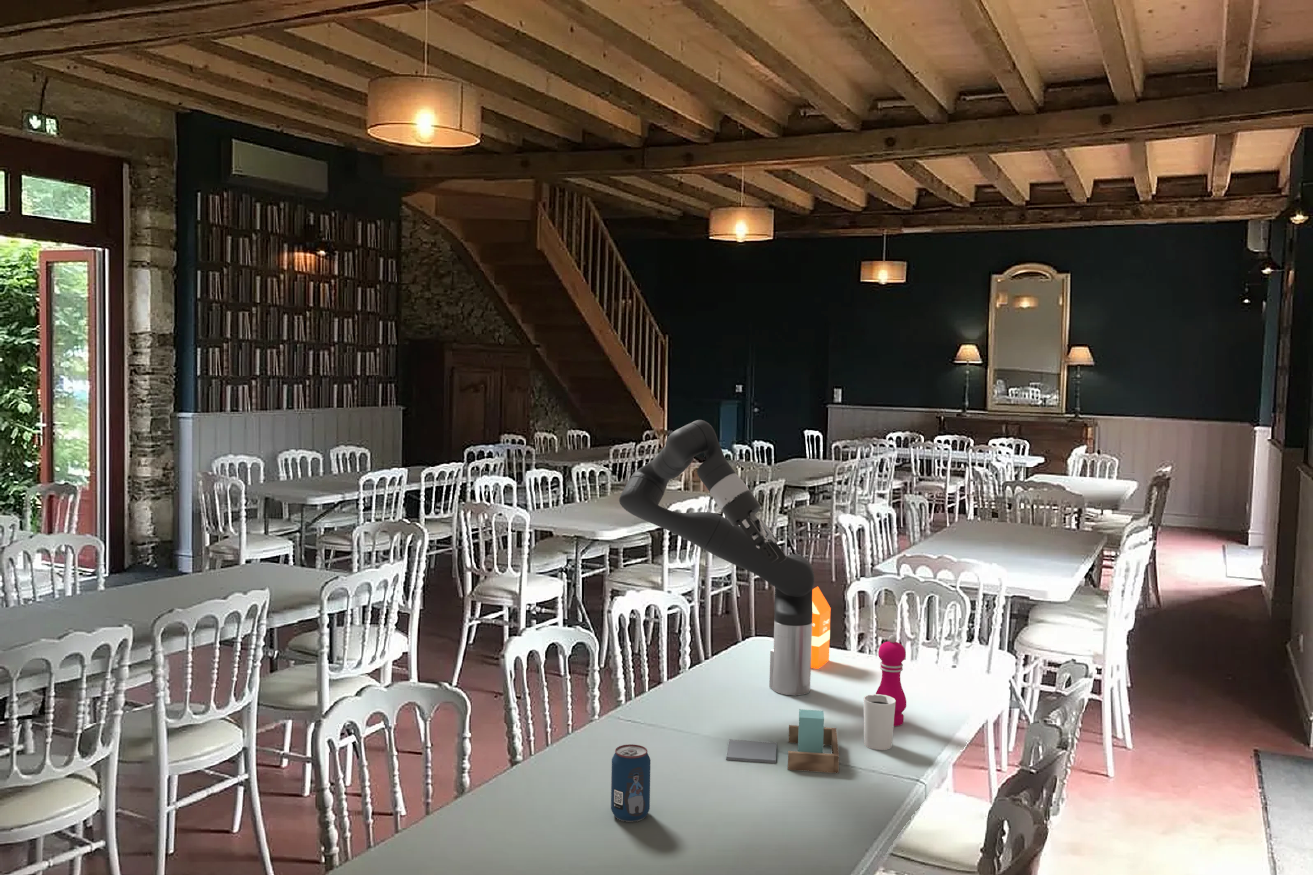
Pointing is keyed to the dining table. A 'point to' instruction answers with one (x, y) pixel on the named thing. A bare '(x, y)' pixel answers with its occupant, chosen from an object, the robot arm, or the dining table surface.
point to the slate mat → (751, 751)
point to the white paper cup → (878, 721)
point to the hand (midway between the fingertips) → (778, 560)
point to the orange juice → (820, 629)
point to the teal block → (811, 731)
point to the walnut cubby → (814, 754)
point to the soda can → (630, 783)
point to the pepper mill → (893, 675)
